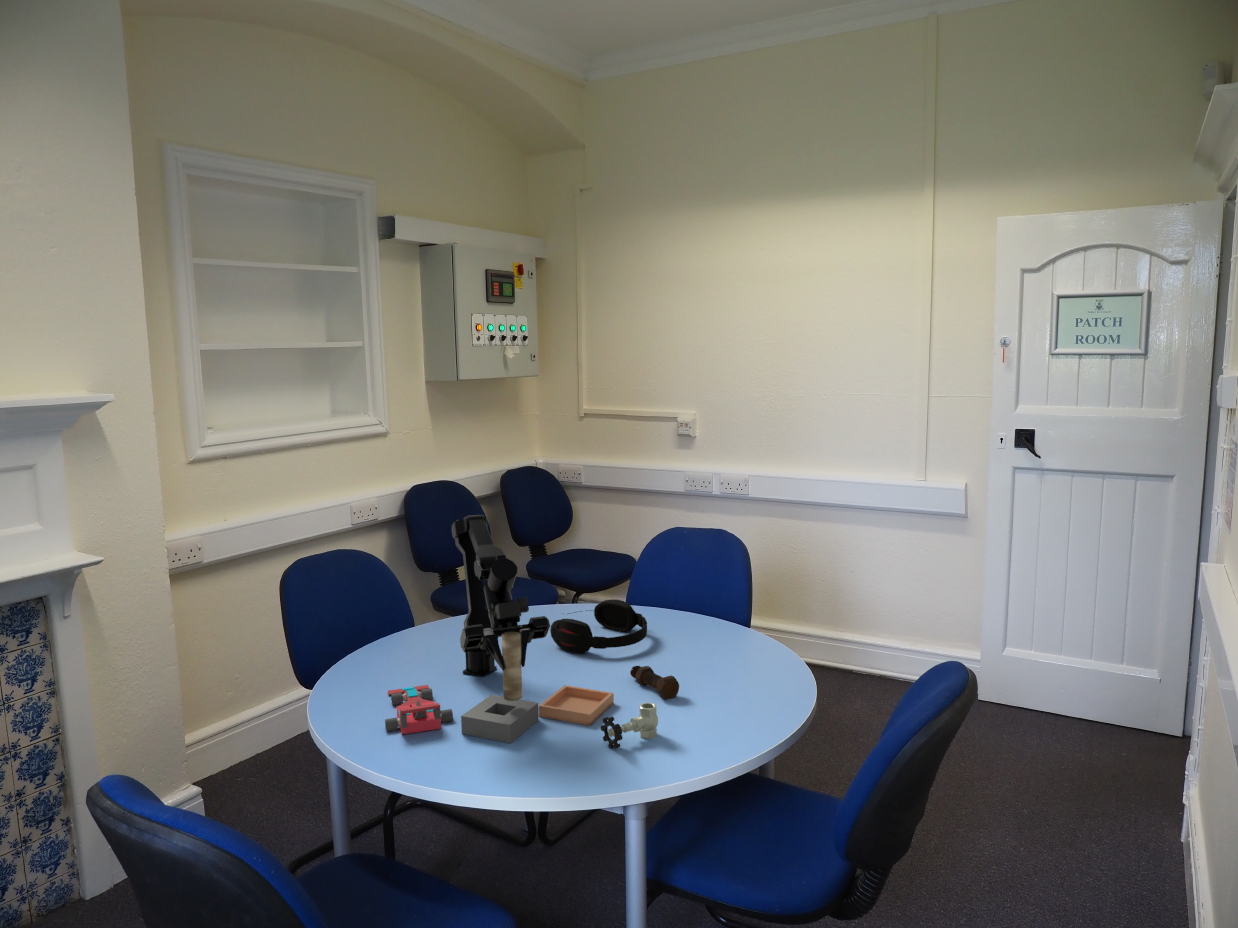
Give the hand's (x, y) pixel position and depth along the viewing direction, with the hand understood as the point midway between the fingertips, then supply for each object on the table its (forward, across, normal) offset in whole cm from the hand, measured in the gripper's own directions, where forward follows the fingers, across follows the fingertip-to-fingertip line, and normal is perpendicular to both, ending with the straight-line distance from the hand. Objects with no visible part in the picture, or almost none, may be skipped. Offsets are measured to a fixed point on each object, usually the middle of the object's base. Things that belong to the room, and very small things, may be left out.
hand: (513, 667), depth 179 cm
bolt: (+4, +36, +16) cm, 39 cm away
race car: (-3, -19, +23) cm, 30 cm away
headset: (-23, +36, +43) cm, 60 cm away
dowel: (+4, 0, +6) cm, 7 cm away
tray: (+7, +15, +12) cm, 21 cm away
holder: (+8, -3, +11) cm, 14 cm away
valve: (+21, +21, -1) cm, 30 cm away
